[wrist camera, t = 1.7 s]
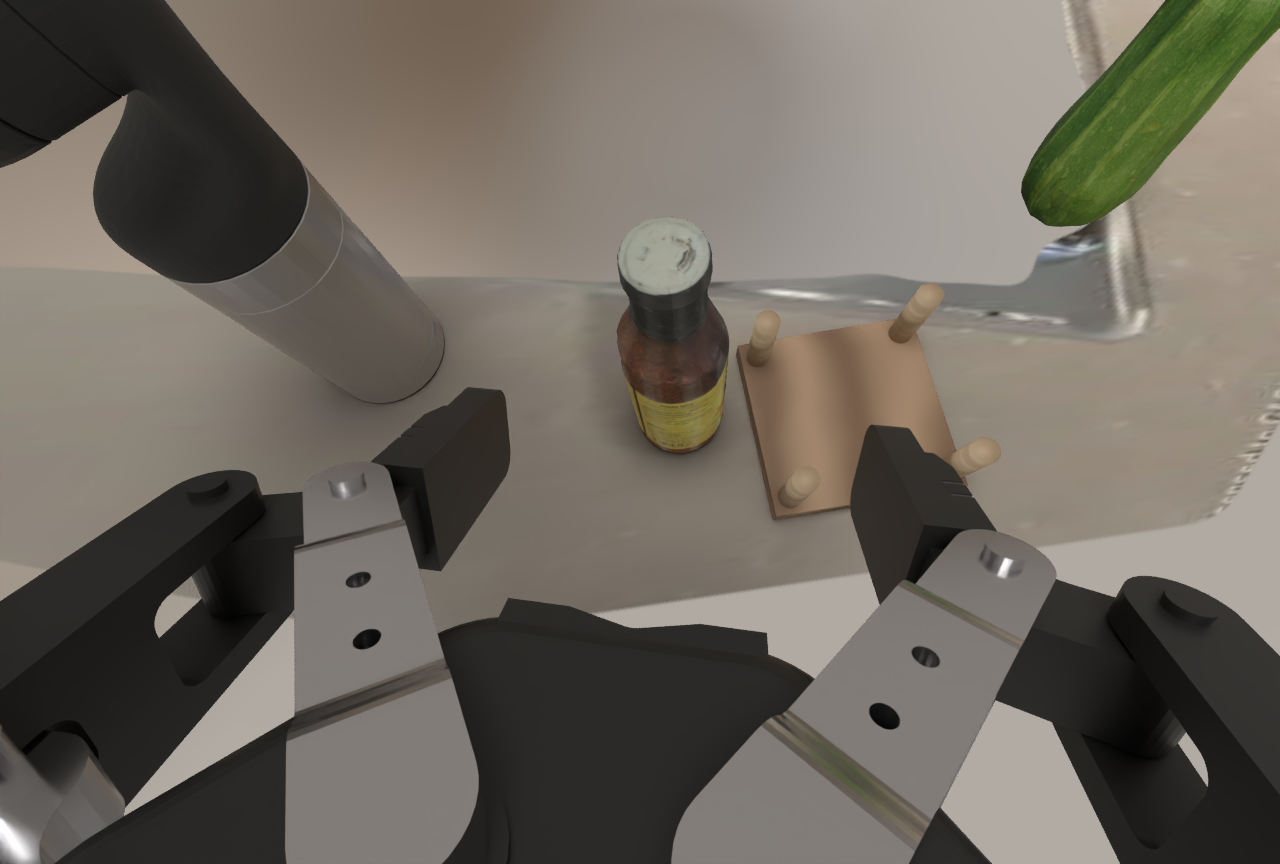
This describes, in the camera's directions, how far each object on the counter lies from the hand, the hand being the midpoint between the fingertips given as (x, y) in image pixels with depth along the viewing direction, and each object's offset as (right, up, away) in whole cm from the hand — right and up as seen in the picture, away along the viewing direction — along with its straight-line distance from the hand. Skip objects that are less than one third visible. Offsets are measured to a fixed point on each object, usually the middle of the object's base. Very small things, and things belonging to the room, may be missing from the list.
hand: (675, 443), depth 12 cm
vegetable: (+33, +19, +33) cm, 50 cm away
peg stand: (+14, +1, +29) cm, 32 cm away
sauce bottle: (+2, +1, +30) cm, 30 cm away
